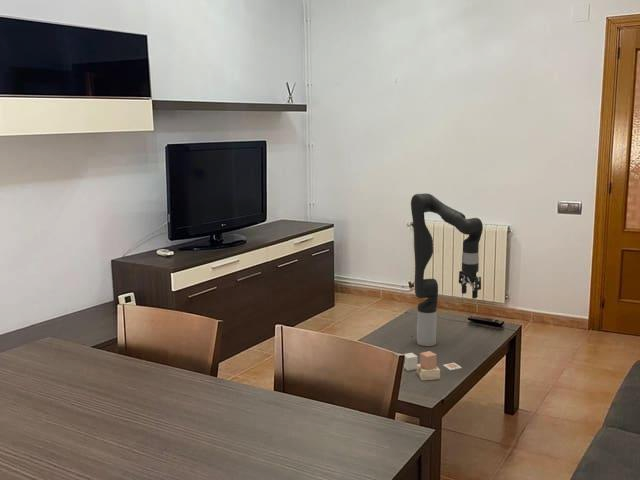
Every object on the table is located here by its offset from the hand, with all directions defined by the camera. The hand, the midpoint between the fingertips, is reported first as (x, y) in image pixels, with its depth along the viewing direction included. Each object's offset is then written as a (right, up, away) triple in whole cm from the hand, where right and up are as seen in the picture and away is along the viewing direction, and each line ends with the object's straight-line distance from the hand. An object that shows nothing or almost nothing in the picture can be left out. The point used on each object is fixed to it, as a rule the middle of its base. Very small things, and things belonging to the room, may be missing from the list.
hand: (469, 295), depth 287 cm
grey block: (-28, -32, -5) cm, 43 cm away
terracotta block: (-22, -30, -15) cm, 40 cm away
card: (-9, -32, -5) cm, 33 cm away
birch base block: (-22, -34, -14) cm, 43 cm away
